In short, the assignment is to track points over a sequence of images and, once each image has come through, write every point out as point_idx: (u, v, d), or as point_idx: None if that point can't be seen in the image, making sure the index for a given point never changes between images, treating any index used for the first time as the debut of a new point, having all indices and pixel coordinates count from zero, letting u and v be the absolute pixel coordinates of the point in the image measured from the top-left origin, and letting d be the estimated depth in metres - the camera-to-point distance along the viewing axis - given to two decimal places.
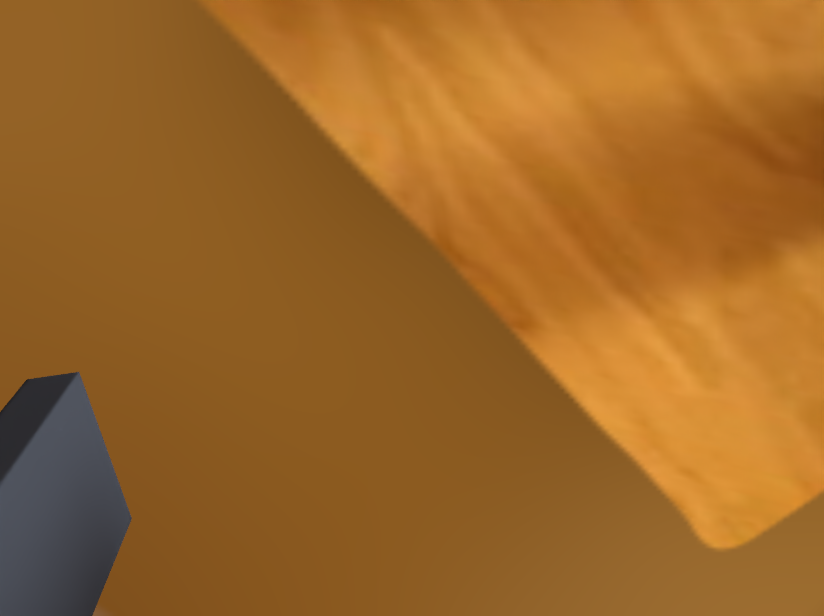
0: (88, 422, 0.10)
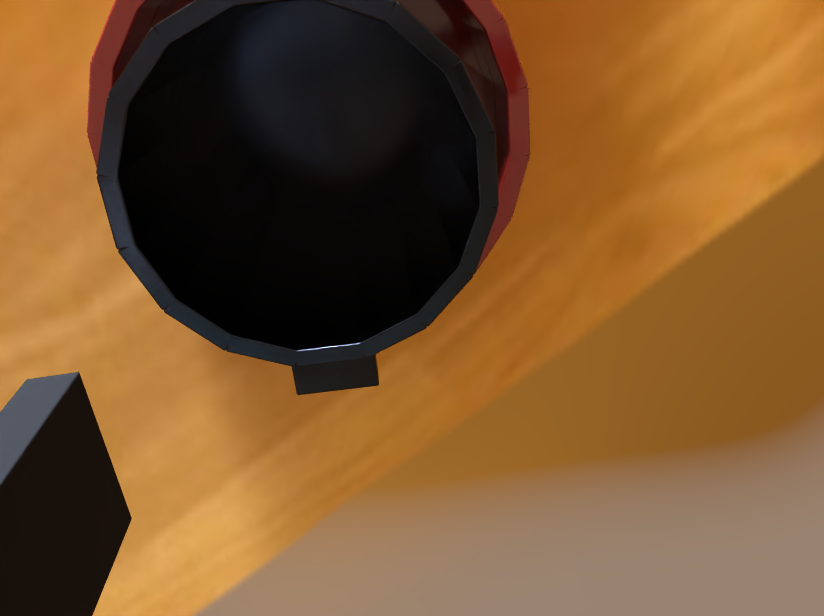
0: (88, 422, 0.10)
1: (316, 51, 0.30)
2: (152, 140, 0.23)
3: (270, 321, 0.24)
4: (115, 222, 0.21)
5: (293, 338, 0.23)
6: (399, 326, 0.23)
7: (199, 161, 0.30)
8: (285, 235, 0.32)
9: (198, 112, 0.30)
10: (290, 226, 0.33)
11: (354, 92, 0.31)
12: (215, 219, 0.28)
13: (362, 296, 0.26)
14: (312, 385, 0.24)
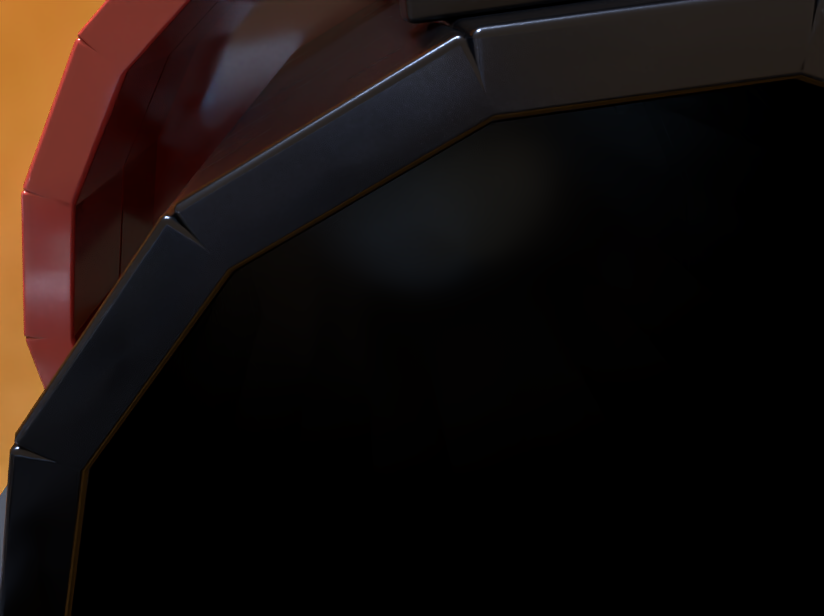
0: None
1: None
2: (167, 406, 0.09)
3: None
4: None
5: None
6: None
7: (250, 338, 0.16)
8: (400, 443, 0.18)
9: None
10: (403, 417, 0.19)
11: (527, 193, 0.17)
12: (289, 465, 0.14)
13: None
14: None
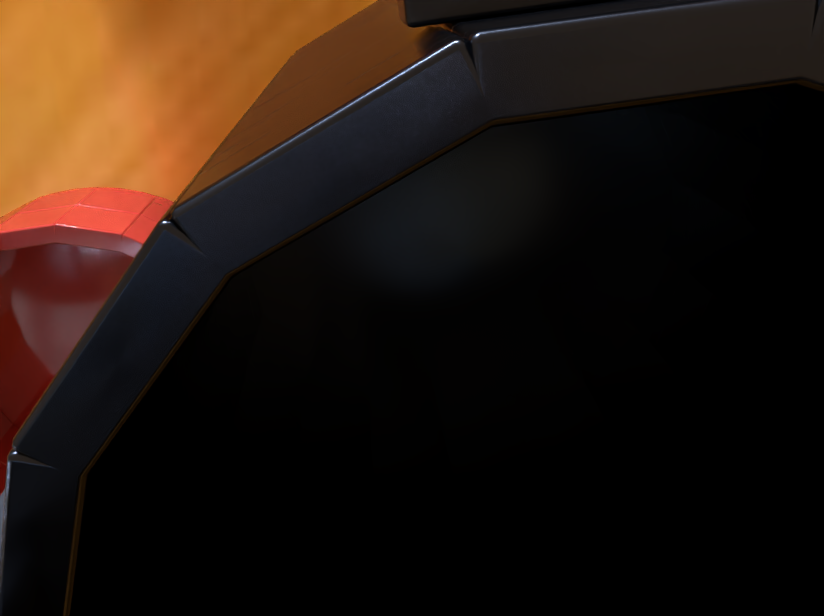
0: None
1: None
2: (165, 409, 0.09)
3: None
4: None
5: None
6: None
7: (250, 339, 0.16)
8: (400, 444, 0.18)
9: None
10: (402, 418, 0.19)
11: (527, 194, 0.17)
12: (289, 467, 0.14)
13: None
14: None
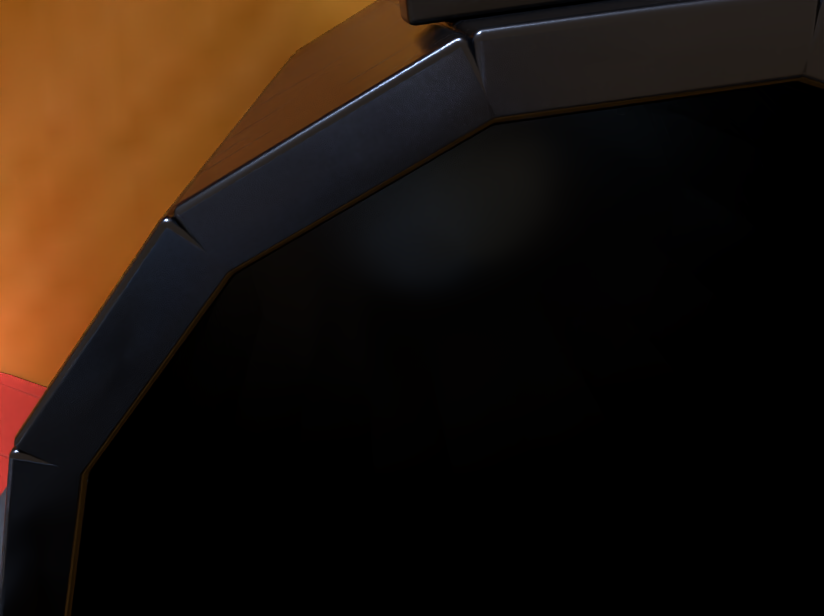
0: None
1: None
2: (167, 408, 0.09)
3: None
4: None
5: None
6: None
7: (250, 339, 0.16)
8: (400, 444, 0.18)
9: None
10: (403, 418, 0.19)
11: (528, 193, 0.17)
12: (290, 467, 0.14)
13: None
14: None
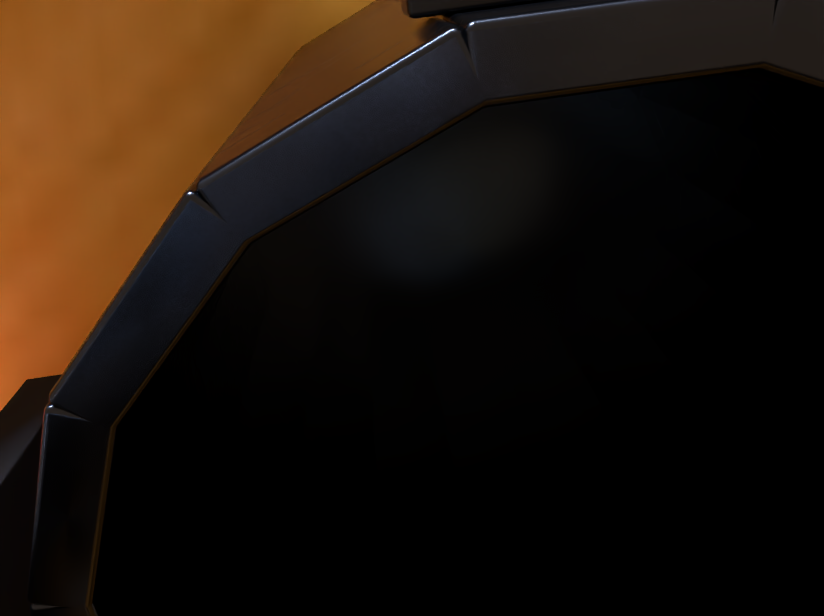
0: None
1: None
2: (180, 383, 0.10)
3: None
4: None
5: None
6: None
7: (257, 326, 0.16)
8: (402, 430, 0.18)
9: None
10: (404, 405, 0.19)
11: (525, 186, 0.17)
12: (294, 448, 0.15)
13: None
14: None
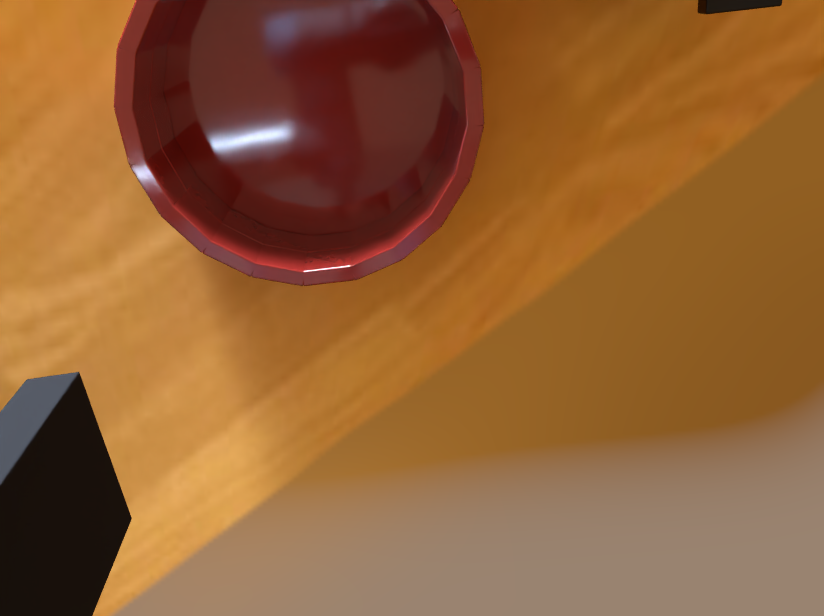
0: (88, 422, 0.10)
1: None
2: None
3: None
4: None
5: None
6: None
7: None
8: None
9: None
10: None
11: None
12: None
13: None
14: (722, 2, 0.26)
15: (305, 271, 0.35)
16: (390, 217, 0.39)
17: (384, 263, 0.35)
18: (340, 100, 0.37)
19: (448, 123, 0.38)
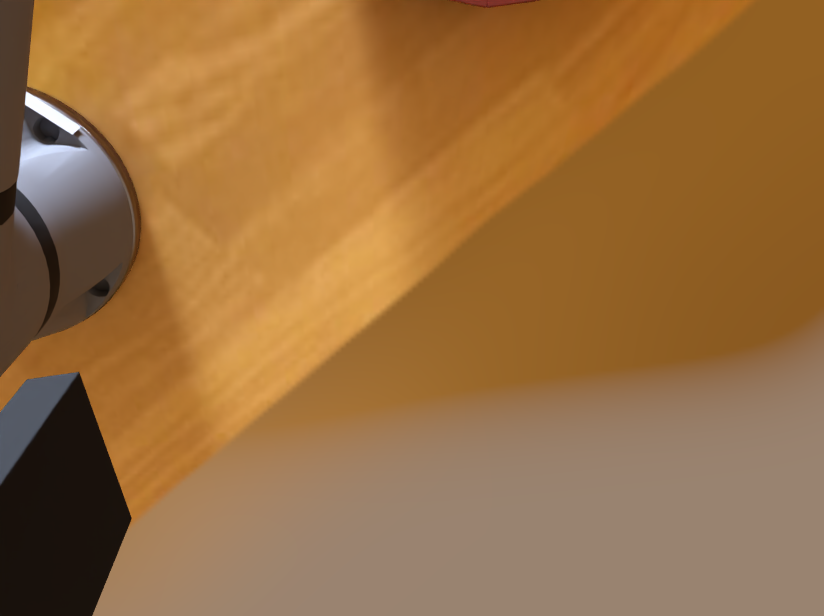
0: (88, 422, 0.10)
1: None
2: None
3: None
4: None
5: None
6: None
7: None
8: None
9: None
10: None
11: None
12: None
13: None
14: None
15: None
16: None
17: None
18: None
19: None
